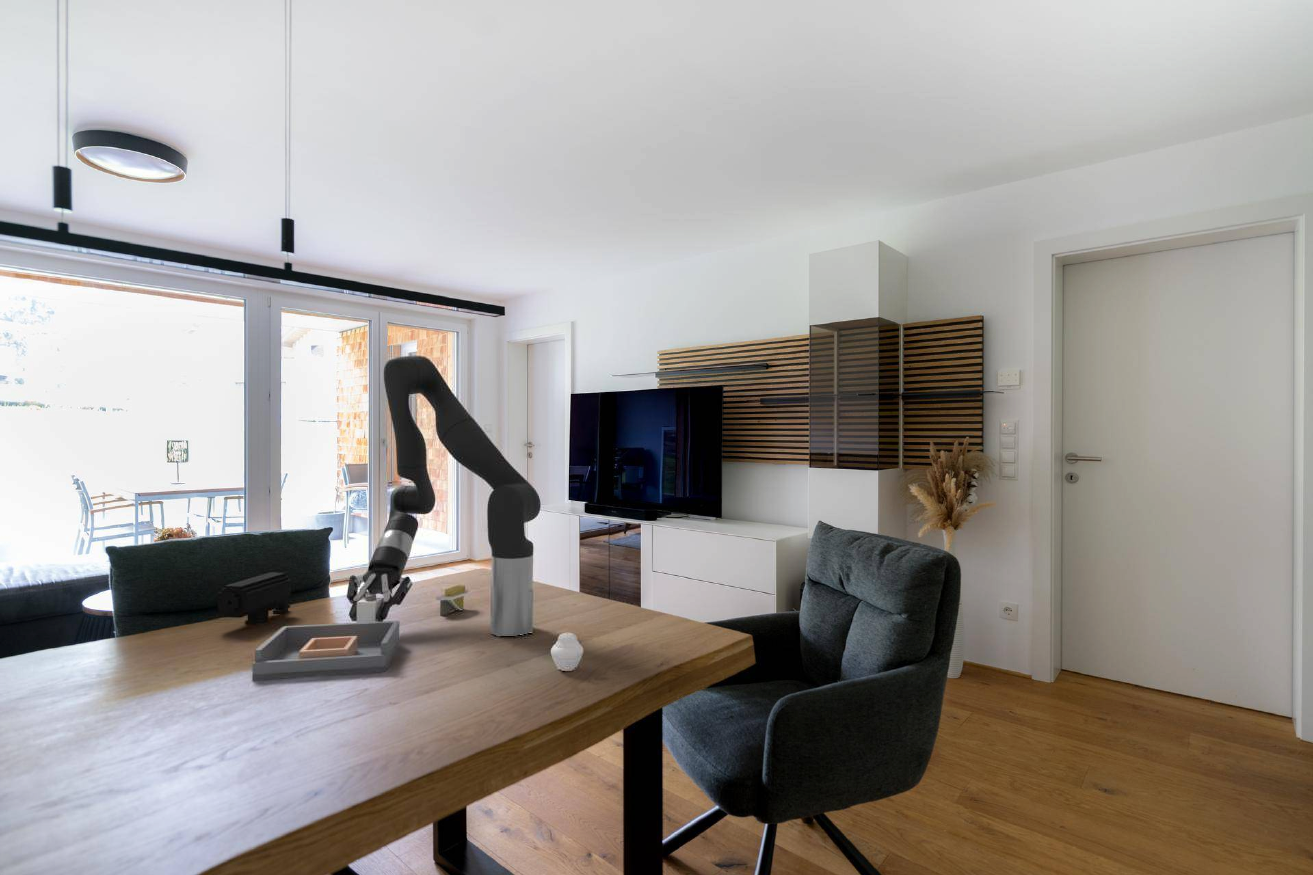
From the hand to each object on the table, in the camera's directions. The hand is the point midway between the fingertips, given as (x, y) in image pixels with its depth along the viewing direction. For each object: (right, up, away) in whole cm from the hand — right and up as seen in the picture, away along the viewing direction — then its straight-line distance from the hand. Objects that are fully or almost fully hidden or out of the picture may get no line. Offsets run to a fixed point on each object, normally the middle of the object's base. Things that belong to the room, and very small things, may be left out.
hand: (366, 619), depth 137 cm
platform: (+12, -5, +22) cm, 26 cm away
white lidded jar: (+45, -5, -16) cm, 48 cm away
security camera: (-31, -4, +13) cm, 34 cm away
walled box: (0, -4, -14) cm, 14 cm away
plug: (0, -4, +2) cm, 5 cm away
